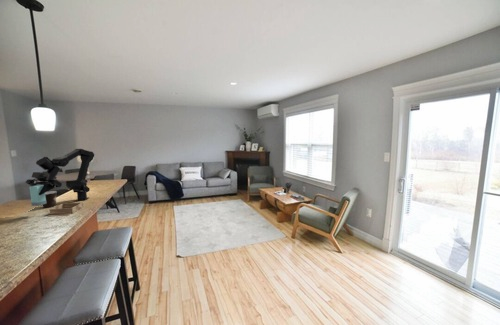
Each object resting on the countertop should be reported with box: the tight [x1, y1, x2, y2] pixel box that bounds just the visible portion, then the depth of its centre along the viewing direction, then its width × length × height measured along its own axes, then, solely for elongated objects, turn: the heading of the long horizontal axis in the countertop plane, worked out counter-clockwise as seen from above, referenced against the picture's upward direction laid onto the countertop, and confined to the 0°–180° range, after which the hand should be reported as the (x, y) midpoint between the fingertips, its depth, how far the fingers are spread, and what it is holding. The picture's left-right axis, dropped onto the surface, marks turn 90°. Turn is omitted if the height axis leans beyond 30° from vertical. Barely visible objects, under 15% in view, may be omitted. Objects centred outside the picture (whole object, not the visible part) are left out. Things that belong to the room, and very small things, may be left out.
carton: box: [47, 202, 85, 217], centre depth 136 cm, size 18×12×4 cm
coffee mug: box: [42, 190, 58, 209], centre depth 146 cm, size 12×9×10 cm
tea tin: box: [29, 184, 47, 207], centre depth 128 cm, size 5×5×12 cm
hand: (35, 194), depth 127 cm, fingers closed on tea tin, 4 cm apart
